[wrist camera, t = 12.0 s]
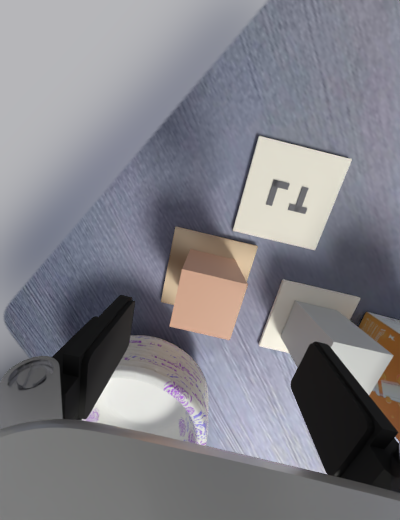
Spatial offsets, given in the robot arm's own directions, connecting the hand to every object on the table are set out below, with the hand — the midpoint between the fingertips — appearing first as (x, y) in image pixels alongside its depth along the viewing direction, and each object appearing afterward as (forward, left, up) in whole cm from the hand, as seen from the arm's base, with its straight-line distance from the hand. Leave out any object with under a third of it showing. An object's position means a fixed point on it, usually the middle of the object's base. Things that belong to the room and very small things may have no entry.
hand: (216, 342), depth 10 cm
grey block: (+4, +13, -12) cm, 18 cm away
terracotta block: (+1, 0, -12) cm, 12 cm away
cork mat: (+1, 0, -12) cm, 12 cm away
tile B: (+4, +13, -12) cm, 18 cm away
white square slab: (-9, +6, -12) cm, 16 cm away
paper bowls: (+16, -4, -13) cm, 21 cm away
